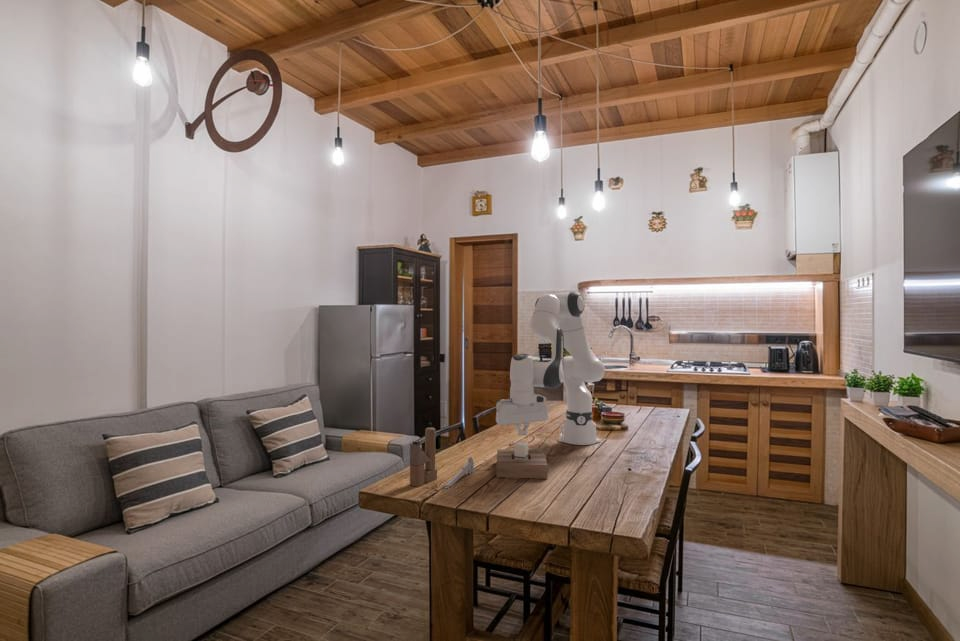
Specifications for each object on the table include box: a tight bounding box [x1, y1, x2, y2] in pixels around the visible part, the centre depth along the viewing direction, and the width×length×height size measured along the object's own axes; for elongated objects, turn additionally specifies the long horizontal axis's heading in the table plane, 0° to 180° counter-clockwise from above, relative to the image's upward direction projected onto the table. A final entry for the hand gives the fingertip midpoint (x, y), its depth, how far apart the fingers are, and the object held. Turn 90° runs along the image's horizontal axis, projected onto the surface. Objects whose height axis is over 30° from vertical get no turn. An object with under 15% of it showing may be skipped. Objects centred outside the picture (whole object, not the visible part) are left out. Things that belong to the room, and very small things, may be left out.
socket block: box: [496, 448, 549, 480], centre depth 190 cm, size 20×18×5 cm
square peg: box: [513, 441, 529, 459], centre depth 190 cm, size 4×4×10 cm
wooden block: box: [409, 426, 438, 488], centre depth 176 cm, size 4×11×18 cm, turn 147°
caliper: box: [444, 456, 475, 489], centre depth 178 cm, size 20×1×6 cm, turn 155°
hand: (522, 434), depth 191 cm, fingers closed
